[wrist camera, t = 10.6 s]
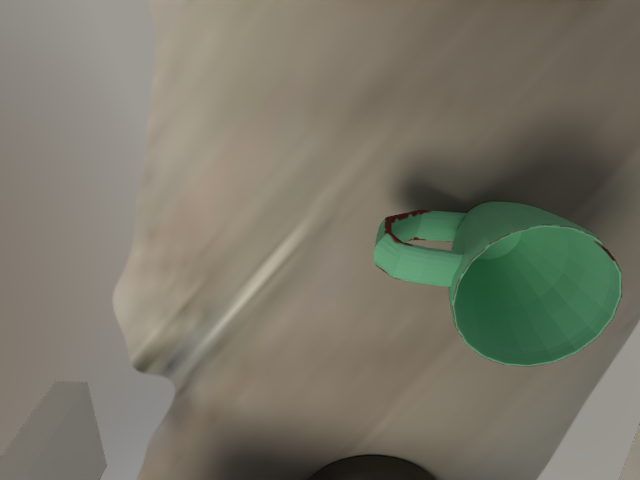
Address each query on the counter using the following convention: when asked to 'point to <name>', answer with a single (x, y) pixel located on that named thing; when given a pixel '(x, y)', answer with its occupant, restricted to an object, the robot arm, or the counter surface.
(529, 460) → the counter surface
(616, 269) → the mug
